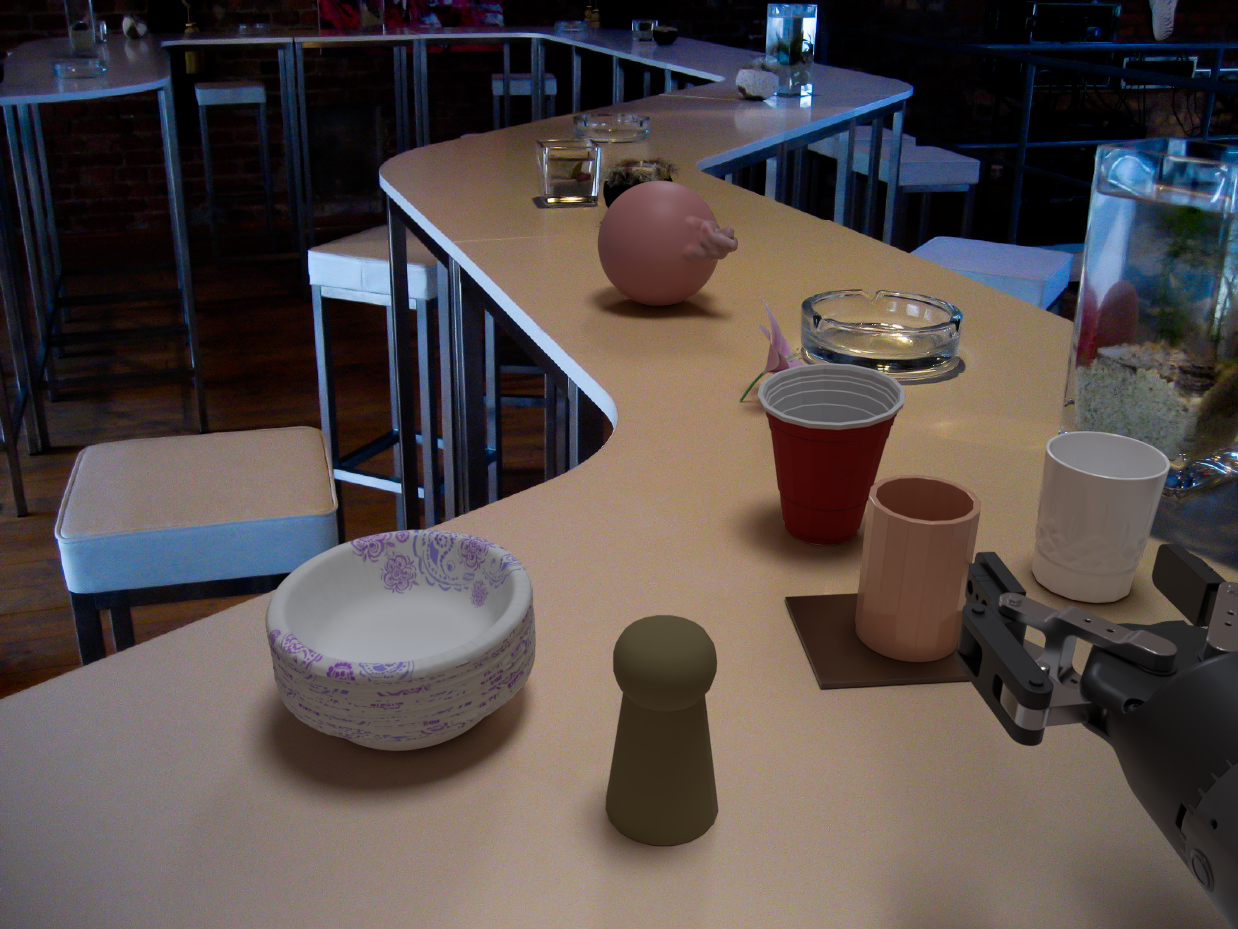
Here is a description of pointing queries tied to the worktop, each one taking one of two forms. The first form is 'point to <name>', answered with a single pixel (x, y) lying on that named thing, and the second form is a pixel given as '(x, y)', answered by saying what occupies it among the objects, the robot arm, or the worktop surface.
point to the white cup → (1095, 513)
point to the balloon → (661, 243)
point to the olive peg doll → (663, 732)
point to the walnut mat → (855, 648)
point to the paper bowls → (402, 637)
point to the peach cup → (915, 566)
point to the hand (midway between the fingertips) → (1071, 564)
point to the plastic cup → (828, 444)
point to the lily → (776, 351)
